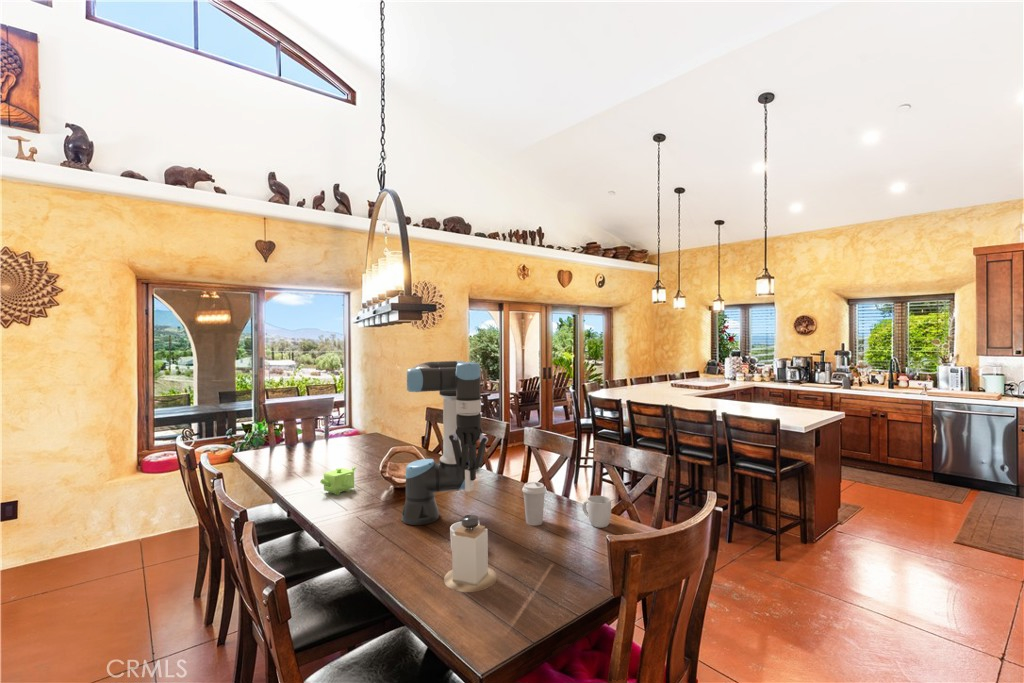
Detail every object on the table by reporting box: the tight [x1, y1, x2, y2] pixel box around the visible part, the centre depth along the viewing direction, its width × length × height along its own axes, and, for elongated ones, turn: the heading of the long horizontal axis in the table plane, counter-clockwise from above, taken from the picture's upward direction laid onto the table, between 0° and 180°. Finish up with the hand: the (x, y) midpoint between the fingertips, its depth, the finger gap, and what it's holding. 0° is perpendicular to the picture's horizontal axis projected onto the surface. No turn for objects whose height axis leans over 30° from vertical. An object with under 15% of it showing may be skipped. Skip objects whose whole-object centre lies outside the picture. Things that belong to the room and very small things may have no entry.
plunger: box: [461, 514, 479, 530], centre depth 142 cm, size 6×6×15 cm
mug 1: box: [449, 520, 481, 551], centre depth 164 cm, size 13×10×8 cm
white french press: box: [451, 524, 489, 587], centre depth 142 cm, size 8×8×15 cm
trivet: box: [443, 567, 498, 593], centre depth 142 cm, size 16×16×1 cm
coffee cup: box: [521, 481, 547, 527], centre depth 186 cm, size 10×10×15 cm
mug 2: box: [582, 495, 612, 529], centre depth 185 cm, size 13×9×10 cm
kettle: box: [319, 466, 358, 496], centre depth 226 cm, size 15×14×11 cm
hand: (469, 490), depth 143 cm, fingers closed
